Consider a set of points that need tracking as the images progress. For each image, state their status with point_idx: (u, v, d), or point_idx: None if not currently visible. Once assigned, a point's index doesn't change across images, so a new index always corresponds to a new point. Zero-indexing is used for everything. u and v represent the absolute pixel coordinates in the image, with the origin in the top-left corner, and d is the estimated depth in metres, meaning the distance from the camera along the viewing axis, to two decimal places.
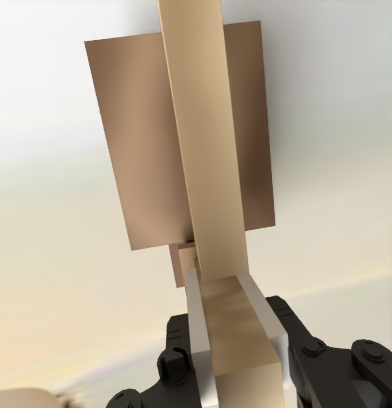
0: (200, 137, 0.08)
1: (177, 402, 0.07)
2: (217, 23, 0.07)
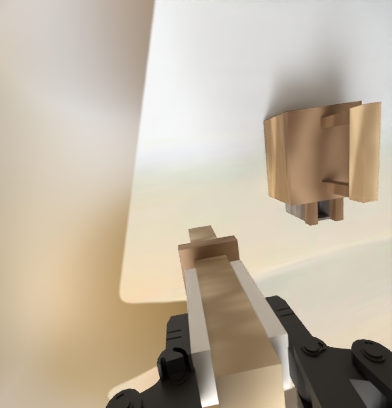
0: (369, 156, 0.27)
1: (177, 402, 0.07)
2: (379, 125, 0.27)
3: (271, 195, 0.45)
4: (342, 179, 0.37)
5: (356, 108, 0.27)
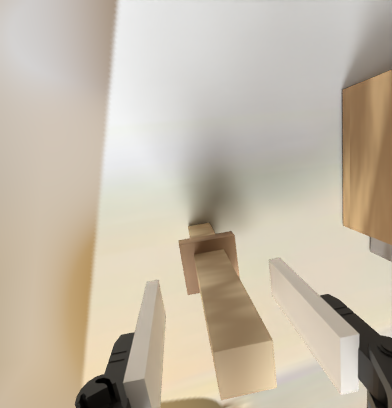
0: None
1: None
2: None
3: (351, 225, 0.25)
4: None
5: None
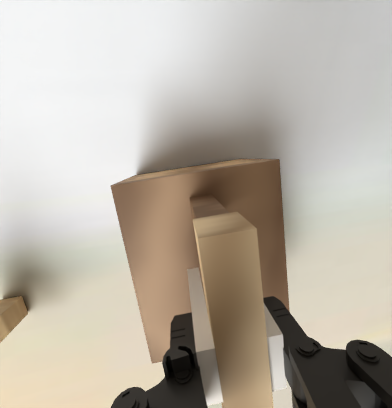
0: (239, 383, 0.09)
1: (182, 400, 0.07)
2: (258, 298, 0.08)
3: None
4: None
5: (195, 232, 0.09)
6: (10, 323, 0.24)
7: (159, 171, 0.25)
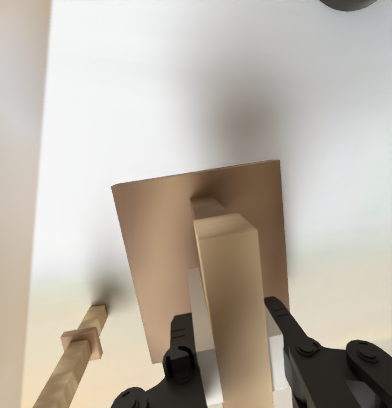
0: (240, 384, 0.09)
1: (182, 400, 0.07)
2: (259, 300, 0.08)
3: None
4: None
5: (196, 233, 0.09)
6: (101, 324, 0.35)
7: None
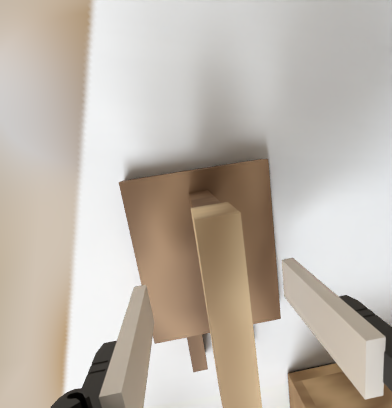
0: (228, 340, 0.11)
1: None
2: (243, 269, 0.10)
3: None
4: None
5: (192, 217, 0.11)
6: None
7: (311, 368, 0.25)
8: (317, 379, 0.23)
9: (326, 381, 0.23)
